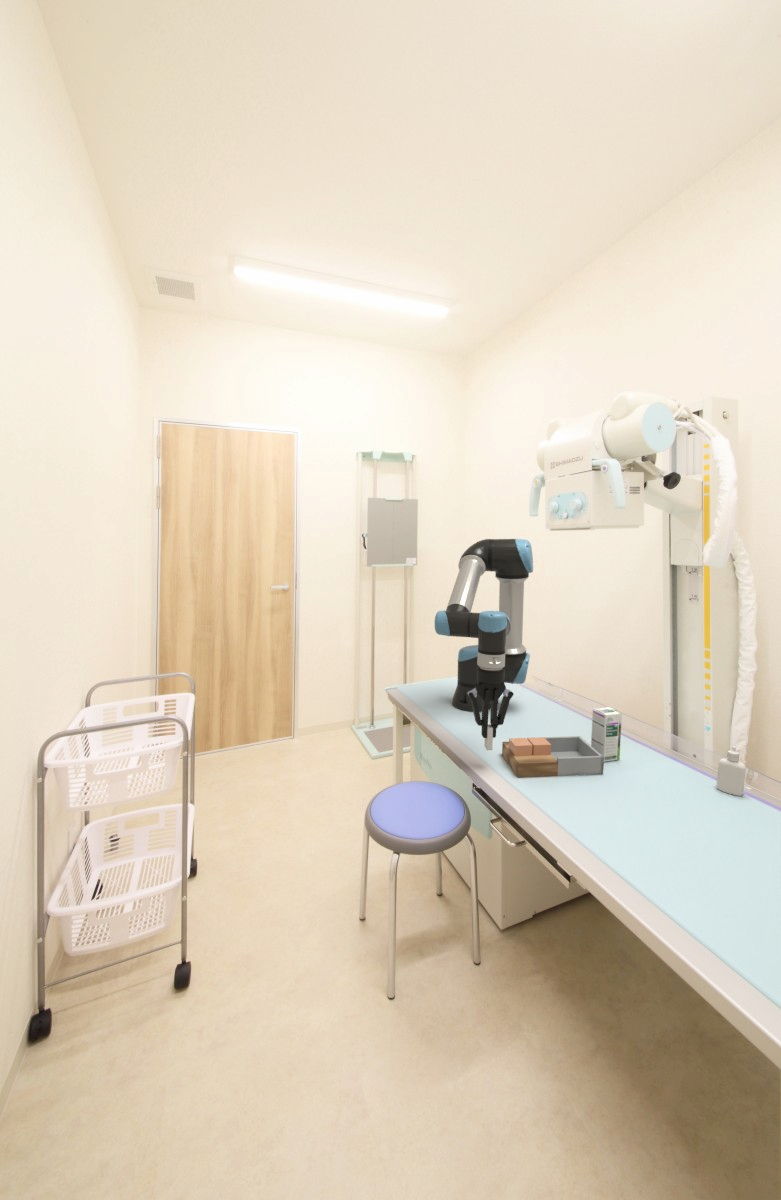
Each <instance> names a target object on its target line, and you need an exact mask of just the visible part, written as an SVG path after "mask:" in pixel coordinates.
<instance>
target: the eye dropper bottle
mask: <svg viewBox="0 0 781 1200" xmlns="http://www.w3.org/2000/svg"><path fill="white" fill-rule="evenodd" d="M736 748H737V747H736V746H734V745H733V746H731V749H729V750H727V752H726V753H727V754H726V758H725V757H724V758H721V759H720V760H719V761H718V767H717V775H716V785H715V787H716V789H717V790H718V791H722V792H724V793H725V794H730V795H732V794H733V796H737V797H738V796H740V797H741V796H743V795H744V789H745V783H746V782H745V781H746V771H747V768H746V765H745V764H743V763H742V762H741V761H740V760H739V759H740V752H739V751H737V749H736Z"/></svg>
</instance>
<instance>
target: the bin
mask: <svg viewBox="0 0 781 1200" xmlns="http://www.w3.org/2000/svg"><path fill="white" fill-rule="evenodd" d="M544 738H545V739H546V740H547V741H548V742H549V743H550V744H551V755H552V756H553V757H554V758H555V759H556V760H557V761H558V776H557V777H568V776H590V775H591V776H593V775H595V776H597V775H603V774H604V767H605V766H604V765H605V764H604V763H605V762H604V756H602V755H601V754H600V753H599V752H598V751H596V750H595V749H594V748H593V747H592V746H591V744H589V742H587V741H586V740H585V739H584V738H583V737H582V736H580V735H574V736H573V735H571V736H570V735H569V736H545V737H544Z"/></svg>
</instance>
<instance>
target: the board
mask: <svg viewBox="0 0 781 1200" xmlns="http://www.w3.org/2000/svg"><path fill="white" fill-rule="evenodd" d="M501 745H502V749H501V755H502V757H503V758H504V759H505V761H506V762H507V764H508V765H509V766H510V768H511V769H512V771H513V772H514V773H515V775H516V776H517V777H518V779H519V778H539V777H540V778H541V777H559V776H558V761H557V760H556V759H555V758H554V757H553V756H552V755H533V754H532V755H530V756H514V754H513V753H512V752H511V750H510V749H509V741H502V744H501Z"/></svg>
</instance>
